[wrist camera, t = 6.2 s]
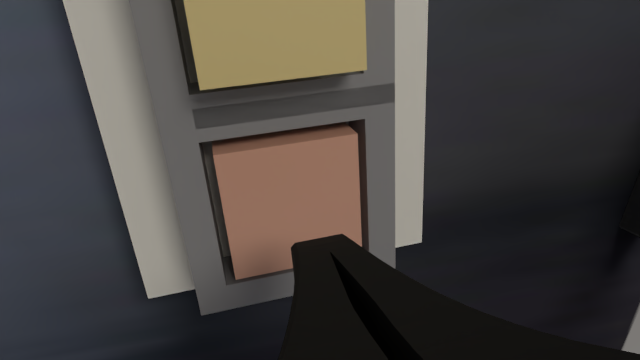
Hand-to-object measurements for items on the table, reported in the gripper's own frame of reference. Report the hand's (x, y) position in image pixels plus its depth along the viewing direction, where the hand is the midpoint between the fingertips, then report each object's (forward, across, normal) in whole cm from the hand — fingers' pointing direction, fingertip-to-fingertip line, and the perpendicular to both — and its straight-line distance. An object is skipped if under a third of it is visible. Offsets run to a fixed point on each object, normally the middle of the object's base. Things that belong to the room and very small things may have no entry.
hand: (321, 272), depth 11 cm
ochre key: (+4, 0, -7) cm, 8 cm away
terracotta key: (+5, 0, 0) cm, 5 cm away
